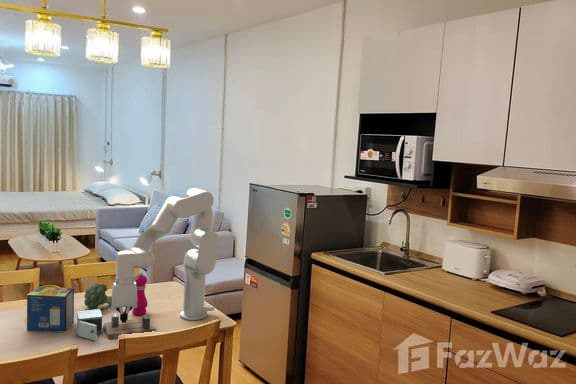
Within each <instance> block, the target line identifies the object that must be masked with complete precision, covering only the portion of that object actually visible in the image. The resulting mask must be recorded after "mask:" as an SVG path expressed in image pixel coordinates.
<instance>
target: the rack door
mask: <svg viewBox="0 0 576 384" xmlns="http://www.w3.org/2000/svg"><path fill="white" fill-rule="evenodd" d="M76 320H77V319H76ZM76 323H77V324H76V336H77V337H81V338H84V339H88V340H91V341H97V334H98V333H97V325H94V324H90V323H87V322H83V321H80V320H77V322H76Z"/></svg>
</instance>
